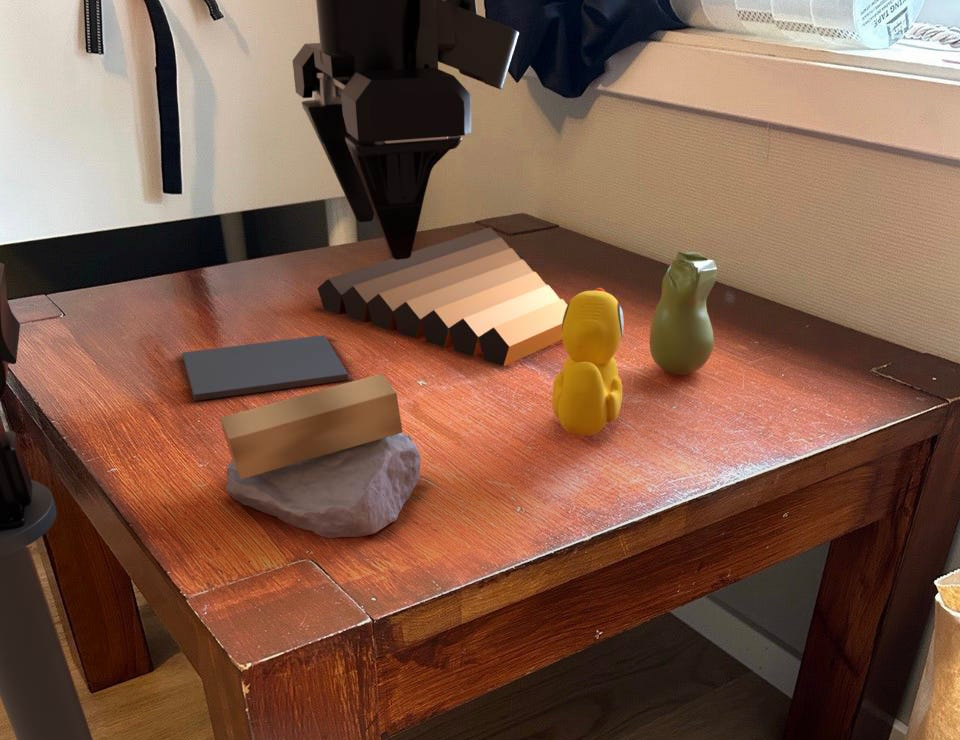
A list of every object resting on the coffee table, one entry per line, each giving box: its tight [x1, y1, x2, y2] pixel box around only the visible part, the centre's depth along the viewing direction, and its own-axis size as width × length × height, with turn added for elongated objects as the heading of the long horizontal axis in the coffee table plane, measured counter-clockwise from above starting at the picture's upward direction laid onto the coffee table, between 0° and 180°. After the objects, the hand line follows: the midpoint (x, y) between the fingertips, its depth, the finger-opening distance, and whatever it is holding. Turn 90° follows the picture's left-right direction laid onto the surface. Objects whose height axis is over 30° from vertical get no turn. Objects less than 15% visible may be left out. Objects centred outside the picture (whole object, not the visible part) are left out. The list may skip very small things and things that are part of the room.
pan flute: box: [317, 226, 568, 367], centre depth 99 cm, size 25×3×25 cm
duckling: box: [552, 287, 625, 437], centre depth 73 cm, size 11×5×10 cm, turn 169°
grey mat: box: [182, 334, 350, 402], centre depth 85 cm, size 13×10×1 cm
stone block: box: [225, 432, 422, 539], centre depth 66 cm, size 12×5×10 cm
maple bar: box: [219, 373, 404, 479], centre depth 63 cm, size 11×3×3 cm, turn 112°
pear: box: [649, 251, 718, 376], centre depth 82 cm, size 6×5×10 cm
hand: (382, 238), depth 62 cm, fingers open, 9 cm apart
